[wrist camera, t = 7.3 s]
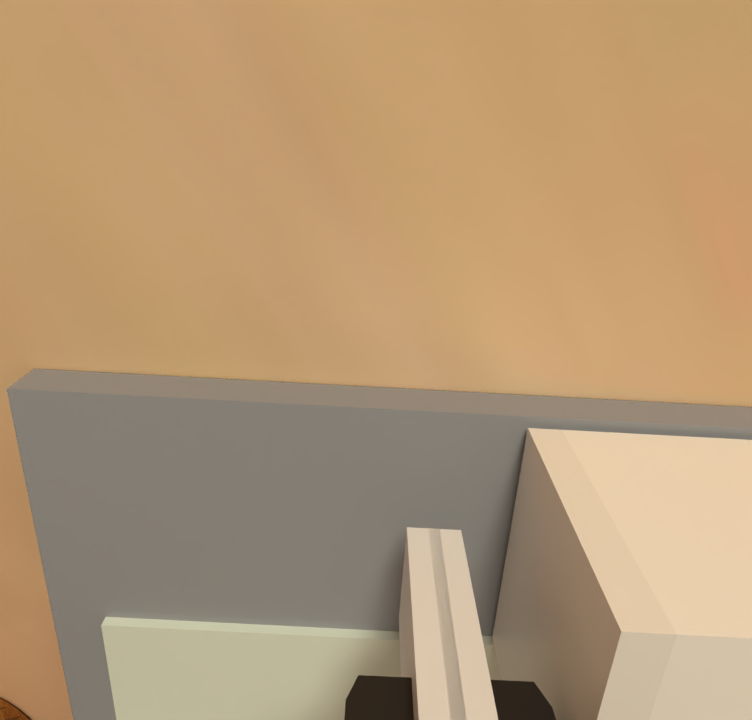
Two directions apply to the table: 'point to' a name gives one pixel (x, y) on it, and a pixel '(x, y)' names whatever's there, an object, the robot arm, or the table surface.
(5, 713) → the disposable coffee cup
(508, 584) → the block
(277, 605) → the board
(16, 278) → the table surface
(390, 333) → the table surface
